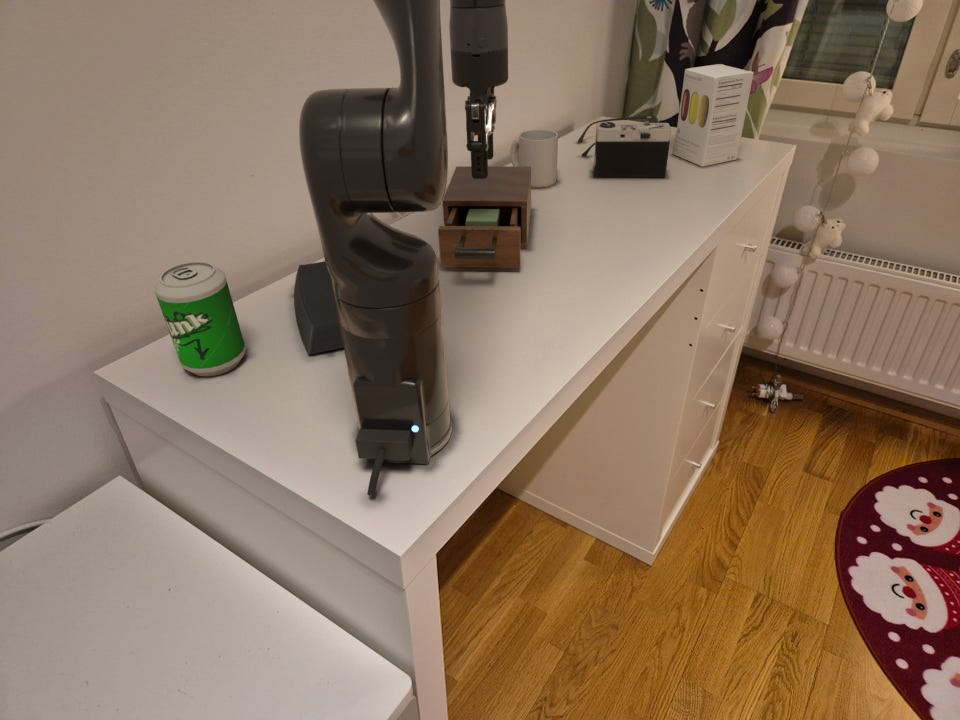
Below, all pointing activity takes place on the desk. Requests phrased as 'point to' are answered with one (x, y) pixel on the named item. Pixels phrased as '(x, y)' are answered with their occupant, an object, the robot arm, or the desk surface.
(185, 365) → the soda can
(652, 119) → the sunglasses
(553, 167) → the cup
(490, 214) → the block
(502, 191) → the cabinet
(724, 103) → the supplement box
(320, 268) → the hard drive
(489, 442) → the desk surface
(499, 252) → the drawer
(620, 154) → the camera
